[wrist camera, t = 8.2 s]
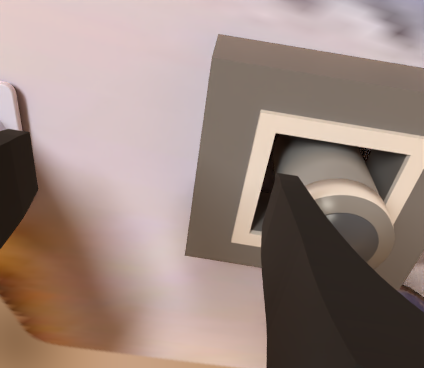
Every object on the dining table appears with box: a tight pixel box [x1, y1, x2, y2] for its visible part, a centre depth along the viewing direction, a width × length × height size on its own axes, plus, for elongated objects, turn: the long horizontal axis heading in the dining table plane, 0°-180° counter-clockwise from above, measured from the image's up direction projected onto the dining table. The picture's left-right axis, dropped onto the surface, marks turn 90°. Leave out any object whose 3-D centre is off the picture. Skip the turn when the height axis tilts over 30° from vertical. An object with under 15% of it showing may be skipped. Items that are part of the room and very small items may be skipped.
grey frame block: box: [185, 34, 424, 290], centre depth 20 cm, size 12×11×4 cm
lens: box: [273, 134, 395, 269], centre depth 18 cm, size 4×4×7 cm
